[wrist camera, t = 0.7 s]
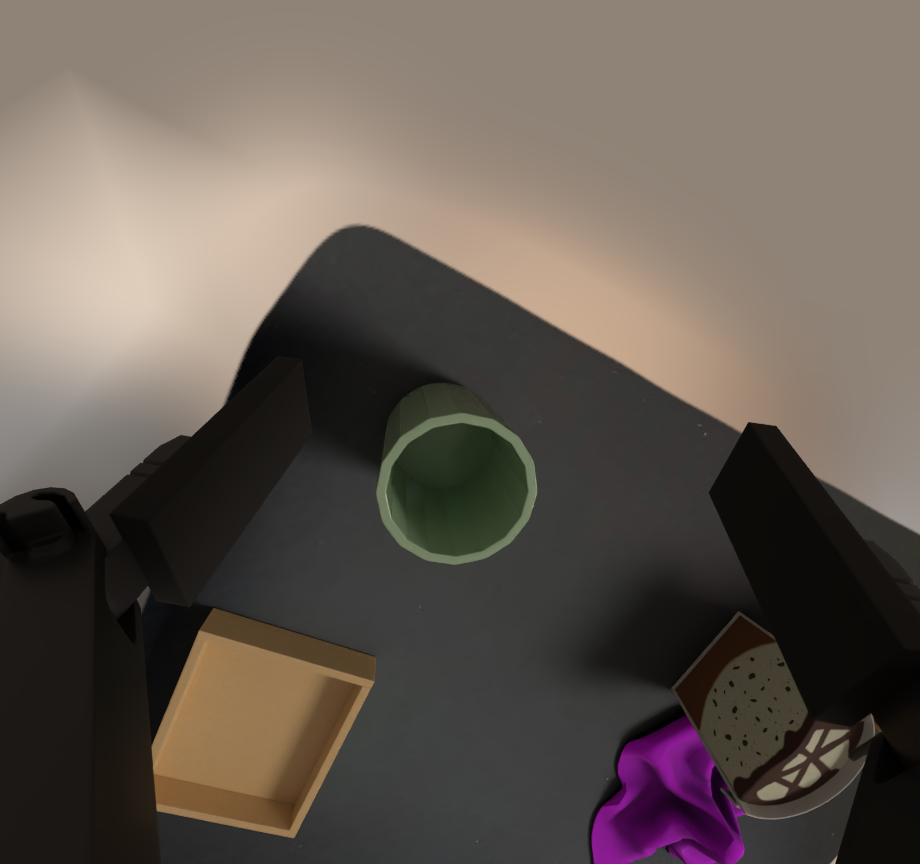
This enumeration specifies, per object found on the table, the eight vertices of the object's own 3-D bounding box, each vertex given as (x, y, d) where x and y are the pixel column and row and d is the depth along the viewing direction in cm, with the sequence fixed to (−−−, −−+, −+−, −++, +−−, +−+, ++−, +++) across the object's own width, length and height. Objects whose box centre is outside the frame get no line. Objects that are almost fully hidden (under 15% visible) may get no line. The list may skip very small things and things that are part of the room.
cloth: (664, 683, 40) (709, 747, 34) (811, 736, 44) (873, 800, 39) (546, 858, 44) (568, 942, 38) (690, 891, 48) (730, 972, 42)
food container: (706, 724, 42) (795, 846, 33) (660, 700, 41) (739, 819, 31) (794, 627, 41) (915, 725, 31) (749, 597, 39) (863, 691, 29)
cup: (374, 393, 30) (361, 430, 21) (488, 373, 31) (526, 400, 21) (397, 500, 33) (394, 578, 23) (503, 479, 33) (544, 546, 24)
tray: (213, 607, 33) (198, 630, 31) (376, 656, 36) (374, 681, 33) (145, 772, 36) (126, 805, 34) (300, 806, 39) (294, 838, 36)
